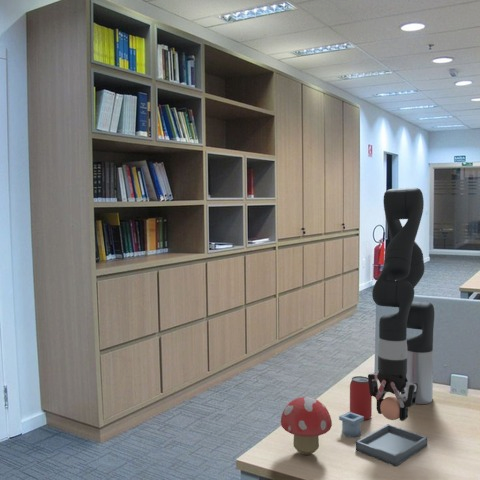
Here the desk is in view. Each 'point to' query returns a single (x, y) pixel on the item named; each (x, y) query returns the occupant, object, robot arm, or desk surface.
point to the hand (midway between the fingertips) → (391, 416)
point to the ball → (390, 408)
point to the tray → (391, 444)
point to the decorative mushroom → (306, 423)
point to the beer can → (360, 397)
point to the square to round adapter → (351, 424)
